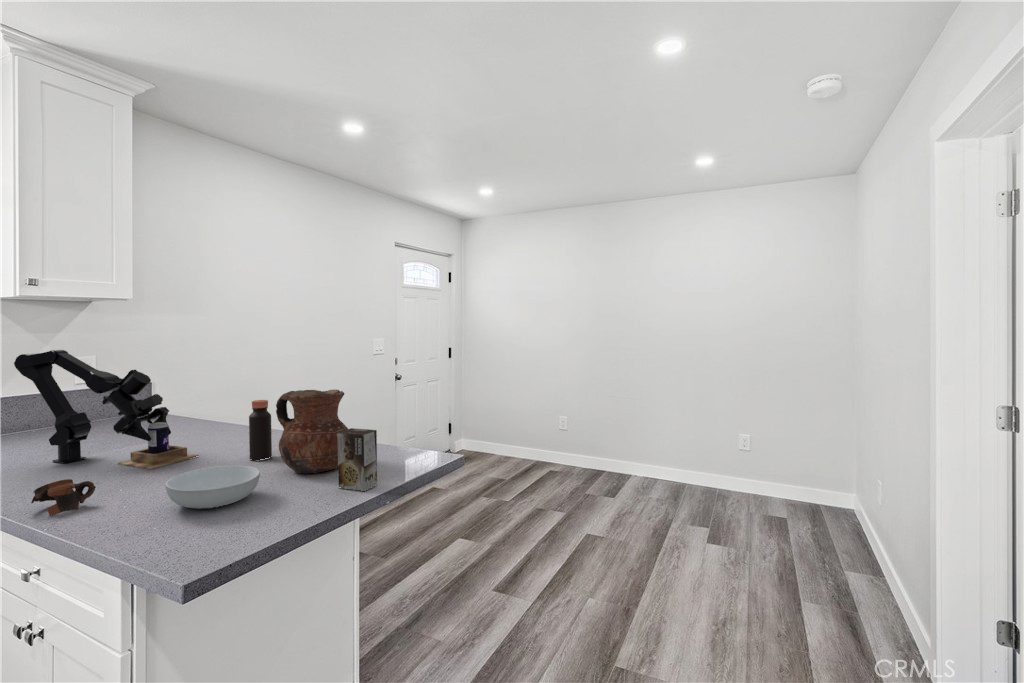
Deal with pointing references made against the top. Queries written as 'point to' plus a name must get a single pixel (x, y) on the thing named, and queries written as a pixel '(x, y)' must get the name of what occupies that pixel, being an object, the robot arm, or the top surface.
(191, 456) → the socket board
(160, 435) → the beverage can
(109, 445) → the top surface
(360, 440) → the coffee box
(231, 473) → the serving bowl
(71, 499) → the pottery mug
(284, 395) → the jug
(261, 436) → the bottle
